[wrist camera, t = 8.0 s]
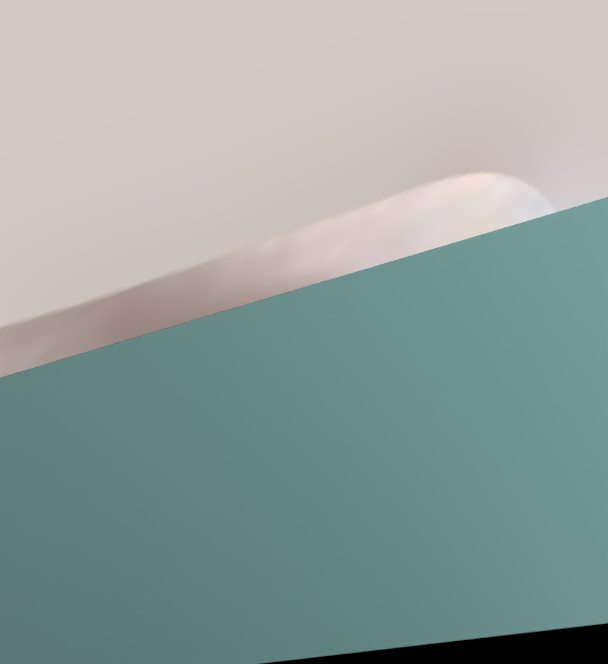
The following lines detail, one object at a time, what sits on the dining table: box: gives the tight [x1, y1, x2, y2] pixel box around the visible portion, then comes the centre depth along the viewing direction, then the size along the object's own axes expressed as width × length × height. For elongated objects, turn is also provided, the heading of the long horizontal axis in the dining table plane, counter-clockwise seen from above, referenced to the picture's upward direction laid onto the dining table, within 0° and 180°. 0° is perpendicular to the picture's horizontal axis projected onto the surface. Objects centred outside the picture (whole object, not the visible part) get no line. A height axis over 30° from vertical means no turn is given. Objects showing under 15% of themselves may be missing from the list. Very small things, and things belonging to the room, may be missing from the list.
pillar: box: [0, 197, 608, 664], centre depth 8 cm, size 5×5×13 cm
